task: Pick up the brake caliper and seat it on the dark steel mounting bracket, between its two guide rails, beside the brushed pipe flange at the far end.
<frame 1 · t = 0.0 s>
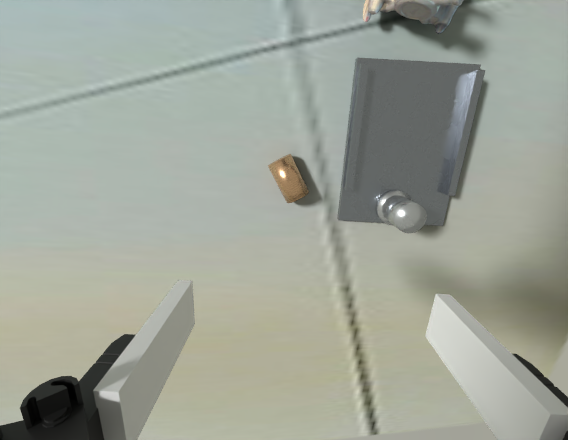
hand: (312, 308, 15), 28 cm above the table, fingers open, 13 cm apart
golden brown rounded block: (288, 177, 41), on the table
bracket: (400, 148, 39), on the table
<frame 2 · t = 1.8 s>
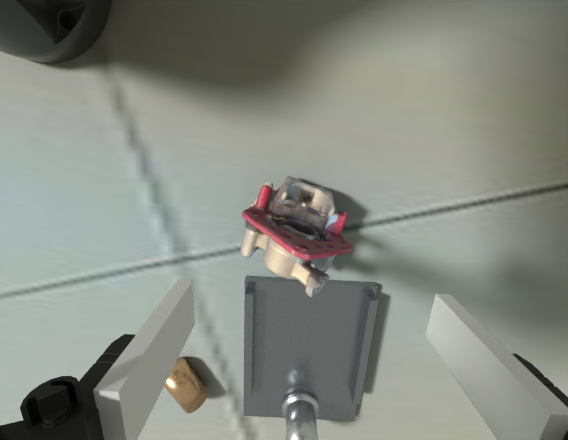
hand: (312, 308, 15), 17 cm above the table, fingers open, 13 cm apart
brake caliper: (295, 219, 32), on the table
golden brown rounded block: (188, 373, 38), on the table
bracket: (304, 351, 37), on the table
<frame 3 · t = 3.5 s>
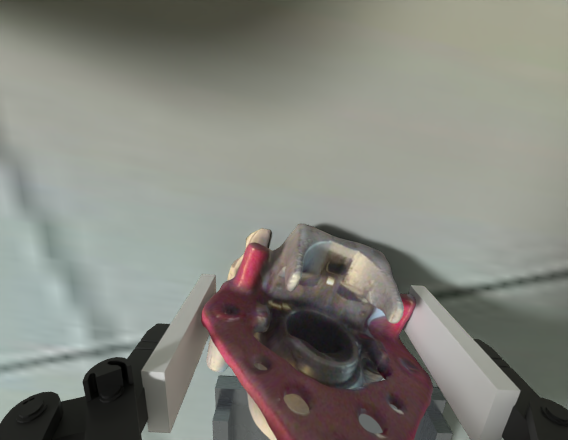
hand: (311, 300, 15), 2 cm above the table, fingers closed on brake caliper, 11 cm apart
brake caliper: (308, 292, 18), on the table, touching gripper
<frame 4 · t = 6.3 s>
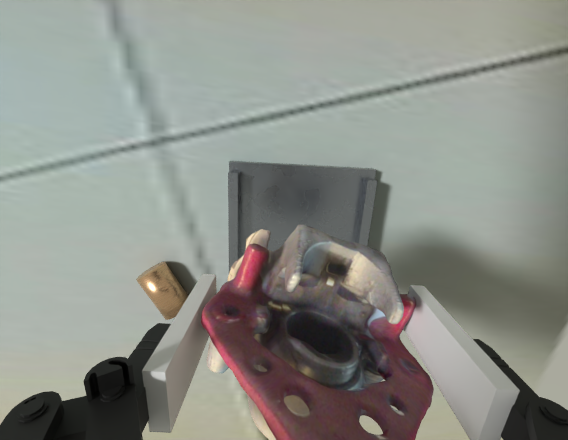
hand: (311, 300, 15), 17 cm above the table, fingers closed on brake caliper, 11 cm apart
brake caliper: (308, 293, 18), point 15 cm above the table, touching gripper
golden brown rounded block: (170, 283, 35), on the table
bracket: (295, 254, 34), on the table
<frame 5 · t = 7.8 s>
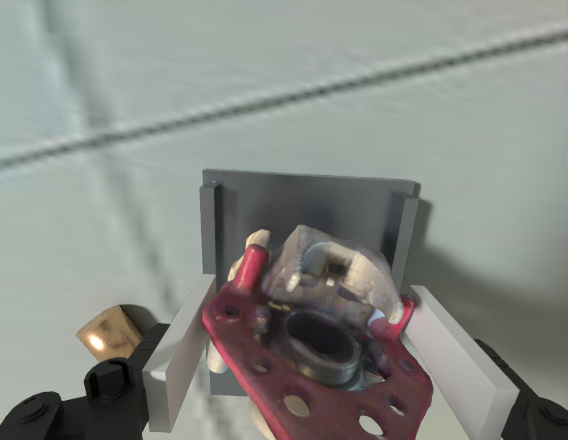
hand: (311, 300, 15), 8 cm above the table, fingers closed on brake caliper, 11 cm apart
brake caliper: (308, 293, 18), point 6 cm above the table, touching gripper
golden brown rounded block: (128, 332, 26), on the table, tilted 5°
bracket: (298, 296, 24), on the table
when the fingers open (4 cm above the table, at t = 9.2 s): brake caliper drops 1 cm, resting on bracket.
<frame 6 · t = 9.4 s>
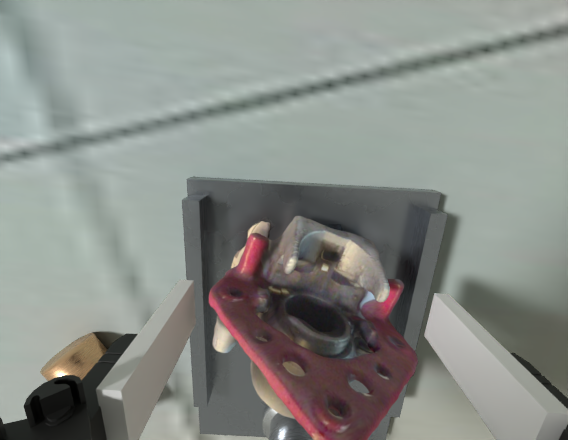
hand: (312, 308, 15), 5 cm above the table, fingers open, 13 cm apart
brake caliper: (306, 280, 19), point 1 cm above the table, touching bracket
golden brown rounded block: (105, 362, 23), on the table, tilted 8°
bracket: (301, 323, 21), on the table
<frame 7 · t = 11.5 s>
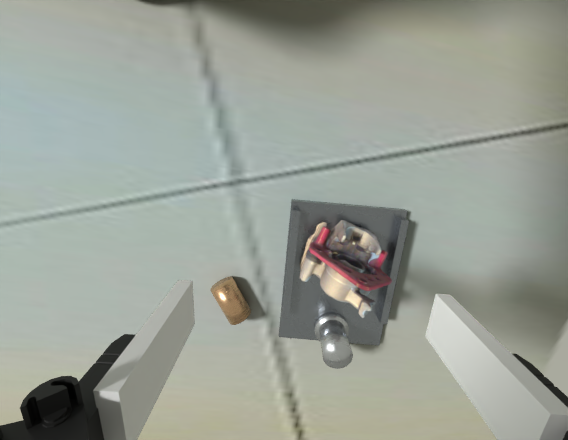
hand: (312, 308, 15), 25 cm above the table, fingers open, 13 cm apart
brake caliper: (341, 252, 39), point 1 cm above the table, touching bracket
golden brown rounded block: (231, 295, 42), on the table, tilted 13°
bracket: (337, 275, 41), on the table
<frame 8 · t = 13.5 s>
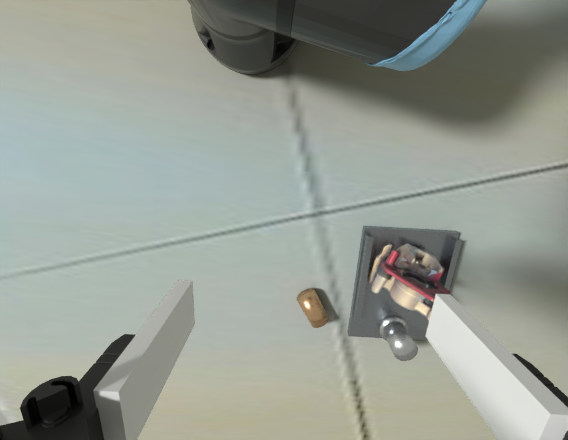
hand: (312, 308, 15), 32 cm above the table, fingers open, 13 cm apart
brake caliper: (402, 267, 48), point 1 cm above the table, touching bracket
golden brown rounded block: (309, 303, 51), on the table, tilted 20°
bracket: (398, 284, 50), on the table
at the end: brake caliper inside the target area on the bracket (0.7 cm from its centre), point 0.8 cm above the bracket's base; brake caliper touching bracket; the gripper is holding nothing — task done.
